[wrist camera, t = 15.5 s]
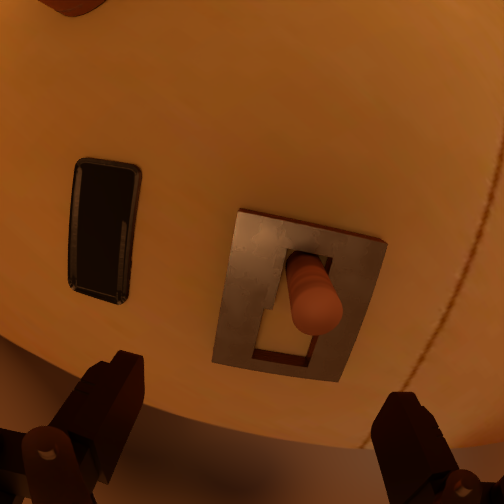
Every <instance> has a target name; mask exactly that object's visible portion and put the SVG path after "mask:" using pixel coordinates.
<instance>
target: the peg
mask: <svg viewBox="0 0 504 504" xmlns="http://www.w3.org/2000/svg"><path fill="white" fill-rule="evenodd" d="M285 270H286V277H287V284H288V291H289V298H290V305H291V312H292V319H293V322H294V324H295V326H296V327H297V328H298V329H299V330H300V331H301V332H303V333H305V334H308V335H314V336H315V335H323V334H326V333H328V332H330V331H331V330H333V329H334V328H335V327H336V326H337V325H338V324H339V322H340V320H341V318H342V314H343V307H342V303H341V301H340V299H339V297H338V295H337V293H336V291H335V289H334V287H333V285H332V283H331V281H330V279H329V277H328V275H327V272H326V270H325V268H324V266H323V264H322V262H321V260H320V259H319V257H318V255H317V254H313V253H308V252H303V251H298V250H296V251H294V252H293V253H291V254H290V256H289V257H288V258H287V260H286V264H285Z"/></svg>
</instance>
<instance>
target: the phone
mask: <svg viewBox="0 0 504 504" xmlns="http://www.w3.org/2000/svg"><path fill="white" fill-rule="evenodd" d="M141 179H142V173H141V170H140V168H139V167H138V166H136V165H134V164H128V163H127V164H126V163H122V162H115V161H108V160H101V159H94V158H81V159H79V160H78V161H77V163H76V165H75V169H74V177H73V186H72V195H71V206H70V220H69V238H68V283H69V286H70V287H71V288H72V289H73V290H74V291H76V292H79V293H82V294H85V295H88V296H91V297H94V298H97V299H100V300H104V301H107V302H110V303H113V304H117V305H120V304H123V303H124V302H125V301H126V300H127V298H128V295H129V280H130V269H131V262H132V261H131V256H132V246H133V237H134V229H135V220H136V213H137V205H138V199H139V192H140V185H141Z"/></svg>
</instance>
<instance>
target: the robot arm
mask: <svg viewBox="0 0 504 504" xmlns="http://www.w3.org/2000/svg"><path fill="white" fill-rule="evenodd" d="M38 1H40V2H42V3H44V4H45V5H47V6H49V7H51V8H53V9H54V10H55V11H57V12H60V13H61V14H63V15H65V16H70V17H71V16H78V15H82V14H85V13H87V12H89V11H91V10H93V9H94V8H96V7H97V6H99V5H100V4H101V3H103V2H104V1H105V0H38ZM144 394H145V385H144V358H143V356H141V355H138V354H134V353H130V352H126V351H123V350H119V351H118V352H117V353H116V355H115V356H114V358H113V359H112V361H111V362H110V363H107V362H104V361H100V362H98V363H97V364H95V365H93V366H92V367H90V368H89V369H88V370H87V371H86V373H85V374H84V375H83V377H82V378H81V381H80V382H78V384H77V385H76V387H75V389H74V391H72V392H71V394H70V395H69V397H68V398H67V399H66V401H65V402H64V404H63V405H62V407H61V408H60V409H59V411H58V413H57V414H56V415H55V417H54V418H53V420H52V421H51V422H50V424H49V425H48V426H39V427H36V428H33V429H31V430H30V431H29V432H28V433H20V432H16V431H11V430H7V429H2V428H0V504H22V502H23V500H24V498H25V497H26V498H30V499H31V500H32V504H97V502H96V499H95V497H94V494H93V489H94V487H95V485H96V482H97V481H99V482H102V483H105V484H107V485H108V484H109V481H110V479H111V477H112V474H113V472H114V470H115V467H116V465H117V462H118V460H119V458H120V455H121V453H122V451H123V449H124V446H125V444H126V442H127V439H128V437H129V435H130V432H131V430H132V428H133V426H134V423H135V421H136V419H137V417H138V414H139V412H140V410H141V407H142V404H143V400H144ZM438 427H439V426H438V424H437V422H436V420H435V418H434V416H433V415H432V414H431V413H430V412H429V411H428V410H427V409H426V408H425V407H424V406H421V405H420V403H419V401H418V399H417V397H416V395H415V394H414V393H413V392H391V393H390V394H389V396H388V397H387V399H386V401H385V403H384V405H383V406H382V408H381V410H380V412H379V413H378V415H377V417H376V418H375V420H374V422H373V424H372V428H371V439H372V442H373V446H374V449H375V453H376V456H377V459H378V463H379V466H380V470H381V473H382V476H383V480H384V484H385V488H386V491H387V495H388V499H389V502H390V504H504V476H503V477H502V478H501V479H500V480H499V481H498V482H497V483H494V482H481V481H480V479H479V478H478V477H477V475H475V474H474V473H473V472H471V471H469V470H465V469H459V467H458V465H457V463H456V461H455V459H454V456H453V454H452V452H451V450H450V448H449V446H448V444H447V442H446V440H445V438H444V437H443V434H442V432H441V430H440V429H438Z"/></svg>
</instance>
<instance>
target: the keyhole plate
mask: <svg viewBox="0 0 504 504" xmlns="http://www.w3.org/2000/svg"><path fill="white" fill-rule="evenodd" d="M387 245H388V244H387V243H386V242H385V241H383V240H382V239H380V238H376V237H371V236H367V235H363V234H359V233H354V232H350V231H346V230H341V229H337V228H332V227H328V226H323V225H319V224H314V223H310V222H305V221H301V220H296V219H291V218H286V217H282V216H277V215H272V214H267V213H262V212H257V211H252V210H247V209H242V208H240V209H239V210H238V214H237V219H236V224H235V230H234V235H233V241H232V246H231V252H230V257H229V263H228V268H227V274H226V280H225V285H224V291H223V297H222V303H221V308H220V314H219V320H218V326H217V332H216V338H215V344H214V350H213V356H212V362H213V363H218V364H223V365H228V366H233V367H238V368H243V369H248V370H254V371H260V372H266V373H272V374H278V375H285V376H291V377H298V378H306V379H314V380H322V381H331V382H339V379H340V377H341V375H342V372H343V370H344V368H345V365H346V363H347V361H348V358H349V356H350V353H351V351H352V348H353V346H354V343H355V341H356V338H357V335H358V333H359V330H360V327H361V325H362V322H363V319H364V317H365V314H366V311H367V308H368V305H369V302H370V300H371V297H372V294H373V291H374V288H375V285H376V282H377V278H378V275H379V272H380V269H381V266H382V262H383V259H384V256H385V252H386V249H387ZM287 248H288V249H293V250H298V251H303V252H308V253H313V254H318V255H323V256H327V257H328V259H327V263H326V266H325V270H326V272H327V275H328V277H329V279H330V281H331V283H332V285H333V287H334V289H335V291H336V293H337V295H338V297H339V299H340V301H341V303H342V307H343V314H342V318H341V320H340V322H339V324H338V325H337V326H336V327H335V328H334V329H333V330H331V331H330V332H328V333H326V334H323V335H315V336H314V335H313V338H312V341H311V344H310V347H309V350H308V353H307V355H306V357H302V356H296V355H289V354H283V353H277V352H271V351H266V350H260V349H254V347H255V342H256V338H257V334H258V330H259V326H260V322H261V317H262V313H263V309H264V308H265V309H271V310H273V306H274V302H275V297H276V293H277V289H278V285H279V281H280V277H281V273H282V268H283V264H284V260H285V256H286V251H287Z"/></svg>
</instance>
